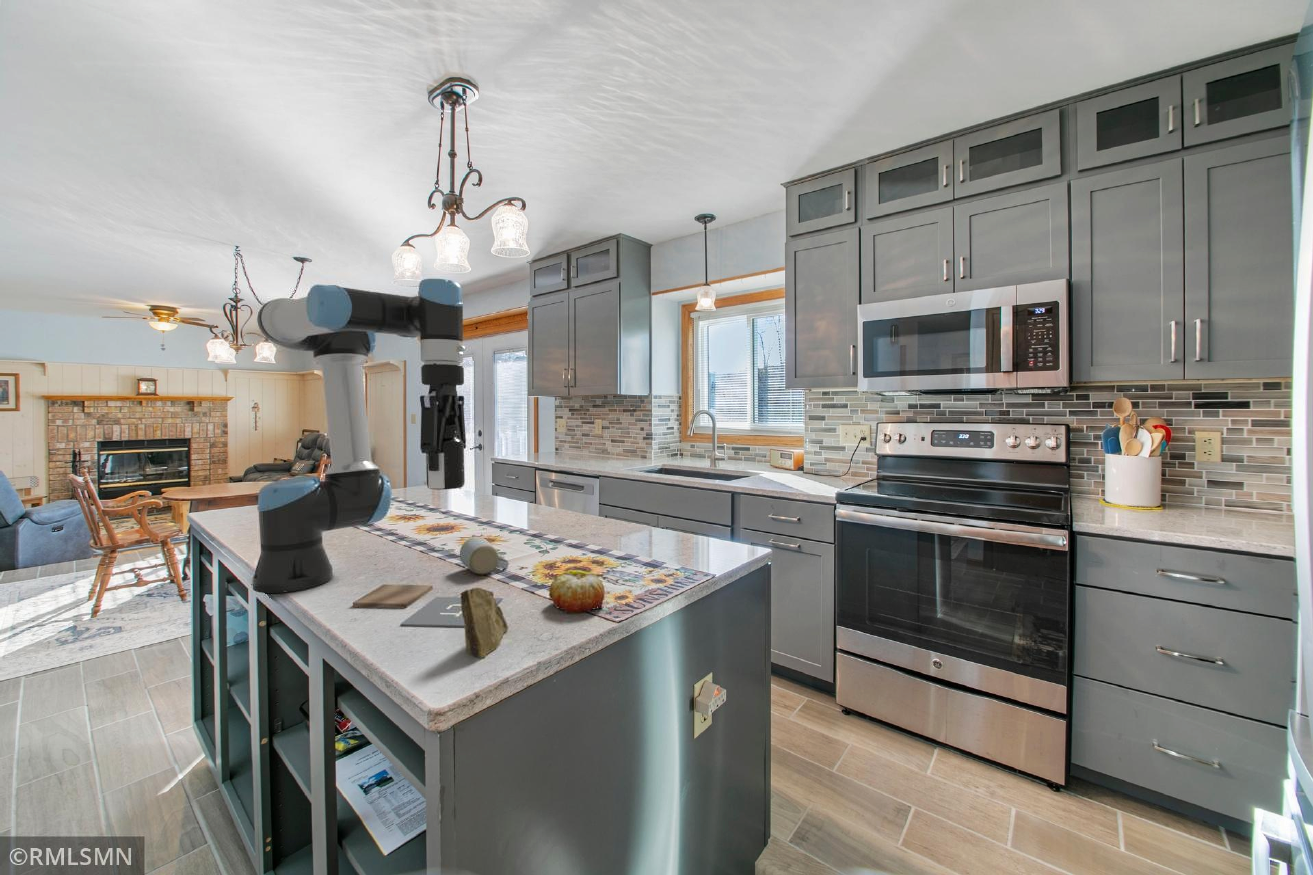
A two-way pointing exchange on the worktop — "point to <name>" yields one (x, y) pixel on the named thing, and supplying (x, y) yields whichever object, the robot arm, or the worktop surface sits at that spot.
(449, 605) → the tile
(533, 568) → the worktop surface
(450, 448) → the supplement bottle
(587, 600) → the fruit
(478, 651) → the rock
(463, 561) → the ceramic mug
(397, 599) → the walnut coaster
